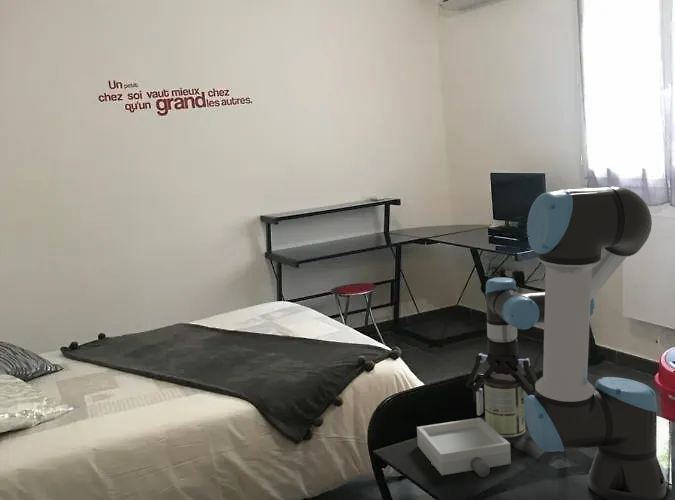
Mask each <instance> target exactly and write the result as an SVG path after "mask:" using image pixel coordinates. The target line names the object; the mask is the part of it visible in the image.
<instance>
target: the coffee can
mask: <svg viewBox="0 0 675 500" xmlns="http://www.w3.org/2000/svg"><path fill="white" fill-rule="evenodd" d="M483 381H484V383H483V394H484V395H483V398H484V417H485V418H484V419H485V420H484V421H485V422H486V423H487V424H488V425H489V426H490V427H492V428H493V429H494V430H495V431H496V432H497V433H499V434H500V435H501V436H502V437H503V438H504V439H506V438H508V439H509V438H510V439H511V438H516V437H519V436H522V435H524V434H525V433H526V420H525V415H524V400H525V391H524V390H523V388H522V387H521V382H517V381H516V379H515V378H513V377H512V376H511V374H508V375H505V374H502V373H501V374H497V373H496V372H492V374H491V375H490V376H489V377H487V378H483Z"/></svg>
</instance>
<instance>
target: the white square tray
mask: <svg viewBox="0 0 675 500" xmlns="http://www.w3.org/2000/svg"><path fill="white" fill-rule="evenodd" d="M416 434H417V435H416V436H417V437H416V439H417V447H418V448H419V449H420V450H421V452H422V453H423V454H424V455H425V457H426V458H427V459H428V460H429V461H430V463H431V464H432V465H433V466H434V467H435V469H436V470H437V471H438V472H439V473H440V475H441V476H445V475H451V474H458V473H462V472H464V473H465V472H470V471H474V472H475V473H476V474H477V475H478V476H479V477H481V478H486V477H487V476H488V475H489V474H490V473H491V469H490V468H494V467H501V466H507V465H511V464H512V462H511V461H512V460H511V459H512V458H511V443H510V442H509V441H508V440H507V439H506V438H505V437H502V436H501V435H500V434H499V433H497V432H496V431H495V430H494V429H493V428H492V427H490V426H489V425H488V424H487V423H486V421H485V420H484V419H482V418H481V417H475V418H469V419H461V420H456V421H448V422H442V423H434V424H428V425H421V426H416Z"/></svg>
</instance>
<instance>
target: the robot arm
mask: <svg viewBox="0 0 675 500" xmlns="http://www.w3.org/2000/svg"><path fill="white" fill-rule="evenodd" d="M652 223H653V220H652V214H651V212H650V208H649V207H648V205H647V204H646V202H645V200H643V198H642V197H641V196H640V195H638V194H637V193H636V192H634V191H632V190H630V189H628V188H625V187H621V186H605V187H591V188H590V187H589V188H575V189H574V188H572V189H558V190H554V191H553V190H552V191H547V192H543V193H541V194H540V195H538V196H537V197H536V198H535V200H534V201H533V202H532V205H531V207H530V210H529V212H528V216H527V223H526V234H527V237H528V238H527V241H528V244H529V247H530V249H531V250H532V251H533V252H534V253H537V259H538V261H539V262H540V263H541V264H542V265H544V267H545V277H544V278H545V285H544V286H545V287H544V288H545V289H544V291H537V292H536V291H533V292H523V293H519V292H517V288H518V287H517V282H516V280H515V279H514V278H511V277H494V278H489V279H488V280H487V281H486V283H485V301H486V302H485V307H486V335H487V338H488V339H487V354H484V353H483V352H480V353H478V354H477V355H475V364H474V366H473V368H472V370H471V373H470V374H469V376H468V378H467V381H466V382H465V387H466V388H469V389H472V400H473V402H475V403H476V415H477V416H481V415H482V414H483V413H484V395H483V394H484V388H481V386H482V385H484V381H483V378H487V377H489V376H490V375H491V374H492V373H497V374H501V373H502V374H505V375H508V374H511V376H512V377H513V378H515V379H516V381H517V382H521V387H522V388H523V390H524V393H525V394H526V395H527V396H526V397H524V415H525V424H526V428H527V429H528V432H529V434H530V437H531V438H532V439H531V440H533V442H534V443H535V445H536V446H537V447H538V449H540V450H541V451H544V452H546V453H547V452H548V453H550V452H551V453H553V452H560V453H564V452H565V451H574V450H581V449H590V448H596V451H595V454H594V458H593V460H592V464H591V468H590V469H589V472H588V486H589V489H590V490H591V492H593V493H594V494H596V495H597V496H599V497H600V498H602V499H605V500H663V499H665V496H666V494H667V482H666V480H665V476H664V474H663V470H662V467H661V465H660V463H659V460H658V459H659V458H658V456H657V455H658V454H657V451H658V449H657V446H658V445H657V437H658V436H657V427H658V425H657V424H658V422H657V419H658V414H657V413H658V410H659V409H658V404H657V394H656V392H655V391H654V390H653V389H652V387H650V386H649V385H648V384H645V383H642V382H640V381H636V380H633V379H629V378H623V377H615V376H611V377H610V376H603V377H600V378H598V379H597V380H596V381H595V384H594V386H593V384H591V383H590V381H589V380H588V370H589V369H588V366H589V347H590V345H589V343H590V321H591V319H590V317H592V316H593V313H594V309H595V299H594V298H595V296H596V295H597V294H598V292H599V291H600V290H601V289H602V288H603V286H605V284H606V283H607V282H608V281H609V279H610V278H611V277H612V275H614V273H615V272H616V271H617V269H618V268H619V267H620V266H621V265H622V263H623V262H624V261H625V260H626V259H627V258H628V257H632V256H634V255H636V254H637V253H638V252H639V251H640V250H641V248H643V246H644V245H645V244H646V242H647V241H648V239H649V237H650V235H651V234H650V233H651V231H652ZM538 324H543V354H542V355H543V356H542V357H543V358H542V361H543V362H542V376H541V377H540V378H538V377H537V375H536V373H535V371H534V368H533V367H532V362H531V361H532V360H531V358H530V357H526V358H520V357H519V345H518V339H517V338H518V330H528V329H530V328H533V326H535V325H538ZM485 362H487V363H488V365H489V368H487V370H486V371H485V372H484V373H483V374H482V375H481V377H479V379H478V380H477V381H476V382H475V380H476V379H477V377H478V374H479V372H480V370H481V368H482V365H483V364H484V363H485ZM519 365H520V366H521V368H522V369H523V370H524V372H525V373H524V374H525V375H526V377H525V376H524V374H523V373H522V371H521V370H520V368H519V367H518V366H519ZM526 378H527V379H528V380H527V379H526Z"/></svg>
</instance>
